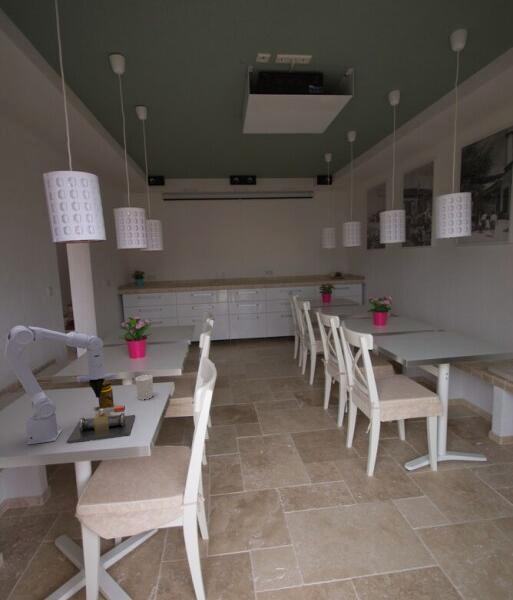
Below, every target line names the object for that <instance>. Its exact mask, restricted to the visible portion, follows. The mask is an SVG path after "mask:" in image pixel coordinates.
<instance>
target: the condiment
mask: <svg viewBox="0 0 513 600" xmlns="http://www.w3.org/2000/svg"><path fill="white" fill-rule="evenodd" d="M114 403H115V402H114V394H113V387H112V382H111V381H108V380H104V383H103V386H102V390H101V396H100V397H98V406H95V407H93V411H94V413H95V415H96V414H97V413H99V412H98V409H99V408H111V407H115V404H114Z"/></svg>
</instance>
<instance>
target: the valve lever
mask: <svg viewBox="0 0 513 600" xmlns="http://www.w3.org/2000/svg"><path fill="white" fill-rule="evenodd" d="M114 406H115V405H114ZM125 410H126V406H125V405H124V404H123V405H116V406H115V407H111V408H99V409H98V412H99V414H103V413H108V412H110V413H125Z"/></svg>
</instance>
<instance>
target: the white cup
mask: <svg viewBox="0 0 513 600" xmlns="http://www.w3.org/2000/svg"><path fill="white" fill-rule="evenodd" d="M134 380H135V386H136V392H137V393H136V394H137V399H138V398H139V399H141V400H140V401H145V400H144V399H148V400H150V399H152V398H153V397H152V396H154V382H153V381H154V380H153V375H151V374H143V375H139V376H137V377H135V379H134ZM151 397H152V398H151ZM149 398H150V399H149ZM139 399H138V400H139ZM142 399H143V400H142Z"/></svg>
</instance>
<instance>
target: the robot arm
mask: <svg viewBox="0 0 513 600" xmlns="http://www.w3.org/2000/svg"><path fill="white" fill-rule="evenodd" d="M44 339H45V340H51V341H56V342H62V343H65V345H66V346H67V347H72V348H77V349H82V350H85V349H86V358H87V369H88V371H87V372H88V374H84V375H78V376H77V377H76V380H77V383H81V382H87V381H89V382H88V385H89V386H90V388H91V389H92V390H93V392H94V395H95V398H98V397H100V396H101V390H102V386H103V383H104V381H106V380H108V379H109V380H111V379H112V380H115V379H116V378H117V373H116V372H104V371H105V370H104V359H103V352H102V351H103V350H102V349H103V348H104V342H103V340H102V339H101V338H100V337H98V336H96V335H94V334H91V333H87V334H86V333H80V331H79V330H74V331H69V332H68V333H65V332H64V333H63V332H61V331H55V330H52V329H47V328H43V327H37V326H30V325H29V326H26V325H25V326H24V325H22V324H19V325H15V326H13V327H12V328H11V329H10V330H9V332H8V334H7V336H6V341H5V348H4V353H3V355H4V358H5V359H6V361H7V363H8V365H9V366H10V368H11V370H12V371H13V372H14V374H15V377H16V378H17V379H18V381H19V382H20V384H21V385H22V387H23V389H24V390H25V392H26V394H27V395H28V396H29V399H30V400H31V408H32V409H33V411H35V412H34V414H33V415H32V416H29V417H28V418H27V420H26V424H25V430H26V438H27V445H34V444H40V443H48V442H55V441H56V440H57V439H58V437H59V436H60V434H61V433H62V432H63V431H62V429H59V430H58V423H57V413H56V409H57V407H56V403H54V402H53V401H52V400H51V397H49V396H47V395H46V393H45V392H44V391H43V389H42V387H41V386H40V383H39V382H38V381H37V379H36V377H35V375H34V373H33V372H32V370H31V369H30V367H29V365H28V364H27V362H26V361H25V359H24V357H23V354H24V352H25V351H26V348H28V346H30V345H31V344H32V343H33V341H34V342H38V341H40V340H44ZM98 399H99V398H98Z"/></svg>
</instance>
